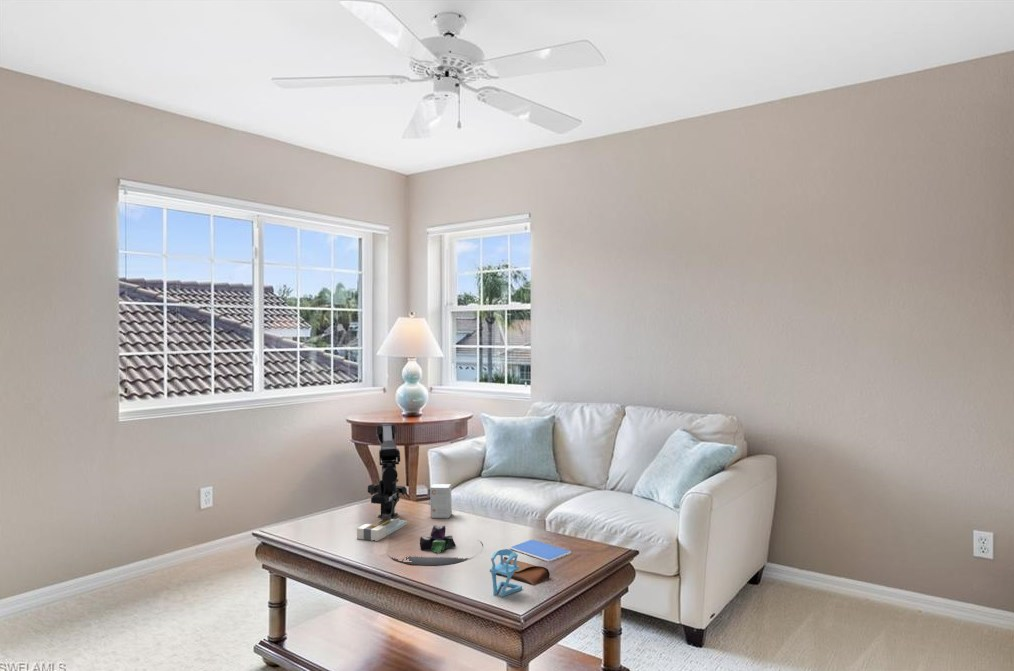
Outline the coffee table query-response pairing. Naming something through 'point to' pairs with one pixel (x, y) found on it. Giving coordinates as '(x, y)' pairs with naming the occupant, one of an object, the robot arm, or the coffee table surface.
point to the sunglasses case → (528, 572)
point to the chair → (504, 572)
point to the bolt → (383, 520)
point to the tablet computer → (540, 550)
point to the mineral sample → (435, 548)
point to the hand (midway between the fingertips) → (389, 516)
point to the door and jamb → (379, 530)
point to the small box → (440, 500)
